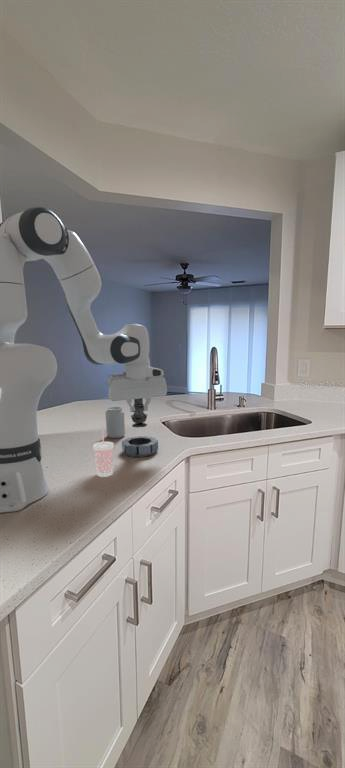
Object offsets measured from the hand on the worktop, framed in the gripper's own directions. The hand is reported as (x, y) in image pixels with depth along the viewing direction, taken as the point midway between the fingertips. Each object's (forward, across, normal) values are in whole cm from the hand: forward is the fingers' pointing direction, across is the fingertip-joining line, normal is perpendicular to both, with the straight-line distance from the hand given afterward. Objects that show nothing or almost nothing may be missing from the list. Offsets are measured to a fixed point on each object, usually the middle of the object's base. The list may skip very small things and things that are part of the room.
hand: (139, 411), depth 118 cm
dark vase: (+5, 0, 0) cm, 5 cm away
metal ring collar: (+15, 0, 0) cm, 15 cm away
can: (+15, -4, +23) cm, 28 cm away
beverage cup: (+15, -15, -15) cm, 26 cm away
